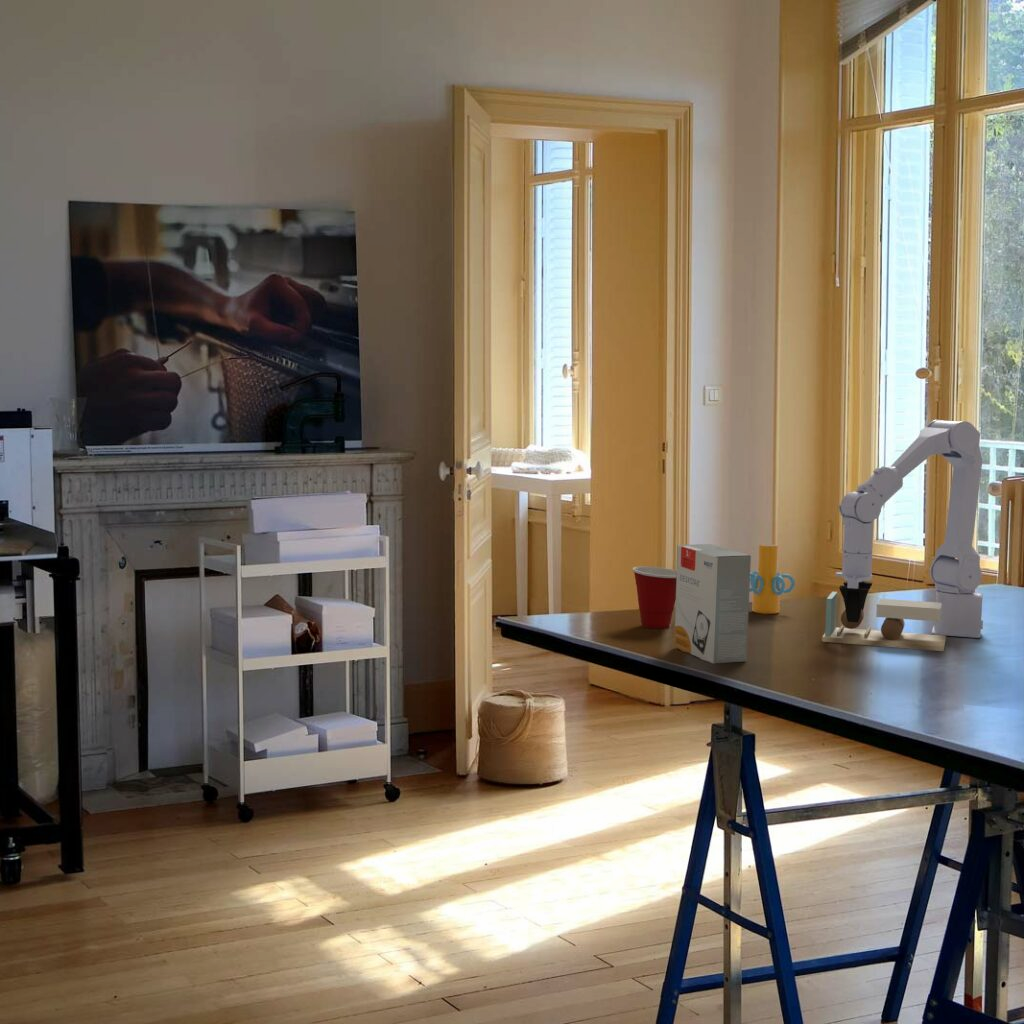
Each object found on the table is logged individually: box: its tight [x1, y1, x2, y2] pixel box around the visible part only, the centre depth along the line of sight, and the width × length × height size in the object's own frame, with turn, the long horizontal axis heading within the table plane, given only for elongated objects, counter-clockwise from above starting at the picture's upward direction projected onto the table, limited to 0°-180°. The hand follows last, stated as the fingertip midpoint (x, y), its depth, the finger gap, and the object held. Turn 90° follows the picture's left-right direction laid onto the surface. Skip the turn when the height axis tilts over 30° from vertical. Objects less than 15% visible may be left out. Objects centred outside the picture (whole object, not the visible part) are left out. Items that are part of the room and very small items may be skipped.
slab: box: [875, 598, 942, 622], centre depth 280 cm, size 12×8×2 cm, turn 71°
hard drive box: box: [673, 543, 752, 664], centre depth 264 cm, size 16×8×20 cm, turn 21°
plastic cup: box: [632, 565, 677, 629], centre depth 293 cm, size 11×11×12 cm
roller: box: [840, 609, 865, 629], centre depth 284 cm, size 4×6×4 cm
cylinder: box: [749, 543, 796, 615], centre depth 314 cm, size 12×10×15 cm
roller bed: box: [821, 591, 947, 652], centre depth 282 cm, size 23×12×8 cm, turn 71°
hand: (854, 619), depth 284 cm, fingers closed on roller, 5 cm apart
